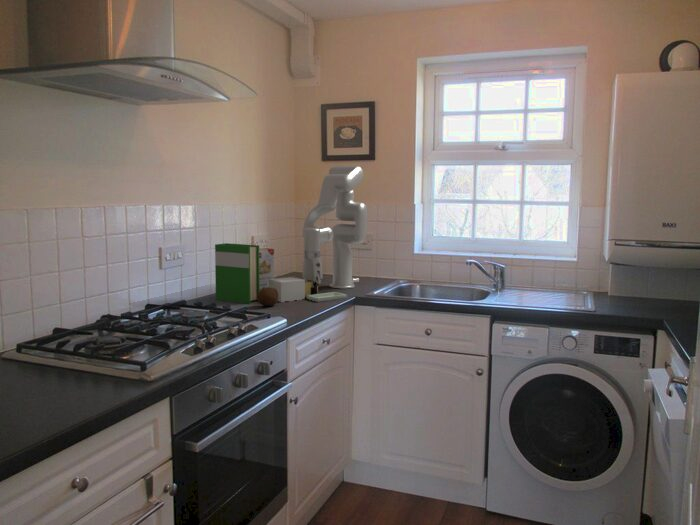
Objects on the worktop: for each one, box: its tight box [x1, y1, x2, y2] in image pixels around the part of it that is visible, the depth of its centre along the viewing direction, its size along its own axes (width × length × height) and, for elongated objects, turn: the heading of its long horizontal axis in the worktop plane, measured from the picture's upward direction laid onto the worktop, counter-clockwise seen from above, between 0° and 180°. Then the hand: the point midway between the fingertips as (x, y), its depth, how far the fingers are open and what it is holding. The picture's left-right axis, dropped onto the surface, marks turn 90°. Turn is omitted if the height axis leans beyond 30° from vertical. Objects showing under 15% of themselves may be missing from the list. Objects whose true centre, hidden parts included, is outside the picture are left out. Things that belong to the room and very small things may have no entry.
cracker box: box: [259, 247, 275, 292], centre depth 260 cm, size 14×6×21 cm, turn 143°
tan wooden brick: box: [305, 281, 319, 298], centre depth 256 cm, size 12×3×6 cm, turn 128°
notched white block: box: [269, 276, 306, 303], centre depth 250 cm, size 13×11×9 cm
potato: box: [257, 287, 278, 307], centre depth 233 cm, size 7×10×8 cm
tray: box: [306, 291, 348, 303], centre depth 252 cm, size 16×8×2 cm, turn 128°
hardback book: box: [214, 242, 260, 304], centre depth 245 cm, size 18×7×24 cm, turn 64°
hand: (311, 294), depth 258 cm, fingers closed on tan wooden brick, 2 cm apart
